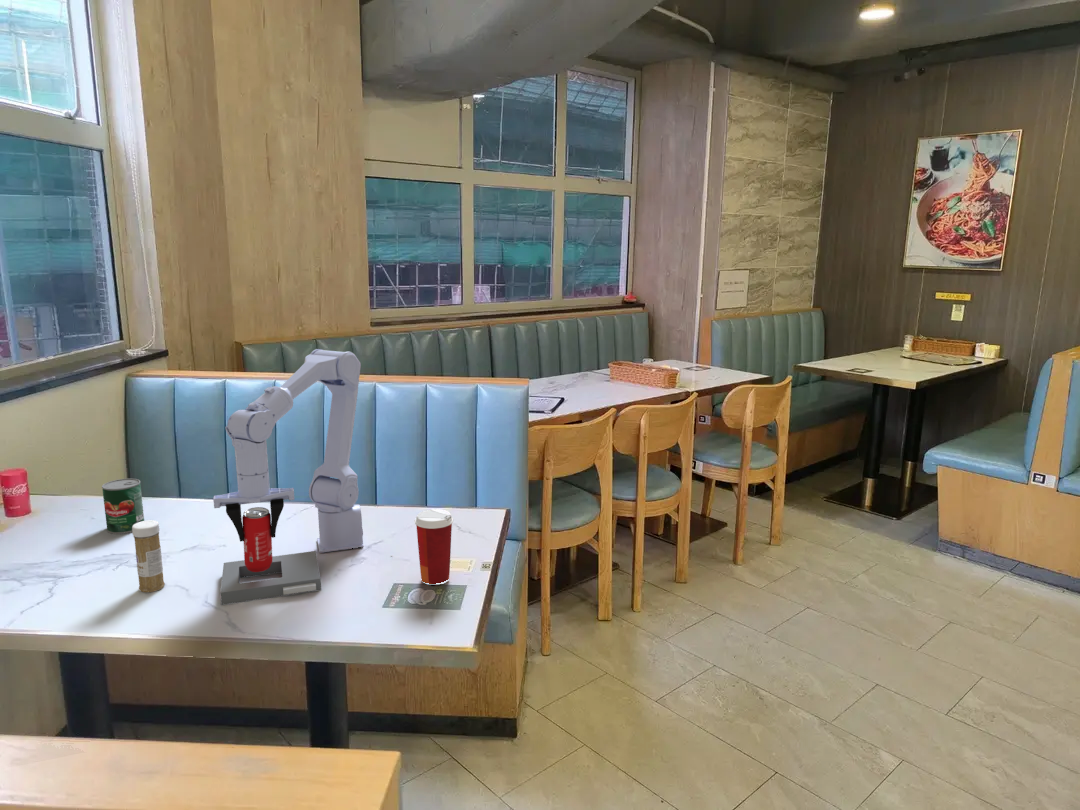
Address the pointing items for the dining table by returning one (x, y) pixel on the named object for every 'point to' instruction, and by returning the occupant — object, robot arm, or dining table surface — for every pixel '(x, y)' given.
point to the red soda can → (257, 539)
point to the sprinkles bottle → (148, 555)
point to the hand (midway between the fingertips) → (257, 537)
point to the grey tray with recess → (295, 579)
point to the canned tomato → (122, 505)
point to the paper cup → (434, 544)
